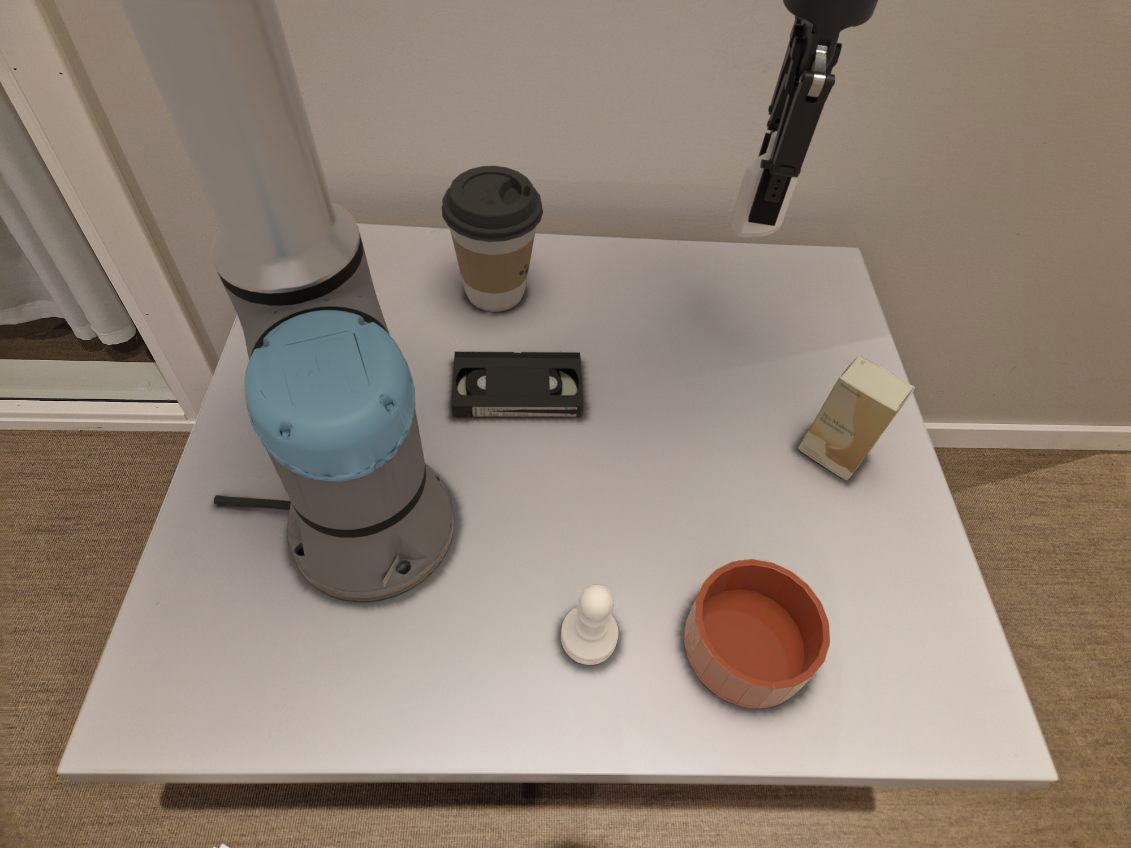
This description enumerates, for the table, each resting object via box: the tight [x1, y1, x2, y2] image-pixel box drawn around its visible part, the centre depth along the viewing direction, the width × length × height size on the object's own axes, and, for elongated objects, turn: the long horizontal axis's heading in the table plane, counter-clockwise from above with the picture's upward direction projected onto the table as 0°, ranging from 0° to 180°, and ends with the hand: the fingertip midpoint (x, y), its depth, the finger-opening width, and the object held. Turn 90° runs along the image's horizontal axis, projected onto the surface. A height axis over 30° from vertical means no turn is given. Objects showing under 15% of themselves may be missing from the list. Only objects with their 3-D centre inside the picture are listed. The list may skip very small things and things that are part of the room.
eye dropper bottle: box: [729, 131, 801, 239], centre depth 73 cm, size 4×6×12 cm
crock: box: [683, 558, 831, 710], centre depth 63 cm, size 11×11×6 cm
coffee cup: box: [441, 165, 544, 313], centre depth 85 cm, size 11×11×15 cm
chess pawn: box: [560, 584, 619, 666], centre depth 61 cm, size 5×5×9 cm
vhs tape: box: [450, 350, 585, 418], centre depth 81 cm, size 14×8×2 cm, turn 92°
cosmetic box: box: [797, 354, 916, 482], centre depth 74 cm, size 6×4×12 cm
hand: (761, 206), depth 76 cm, fingers closed on eye dropper bottle, 4 cm apart
